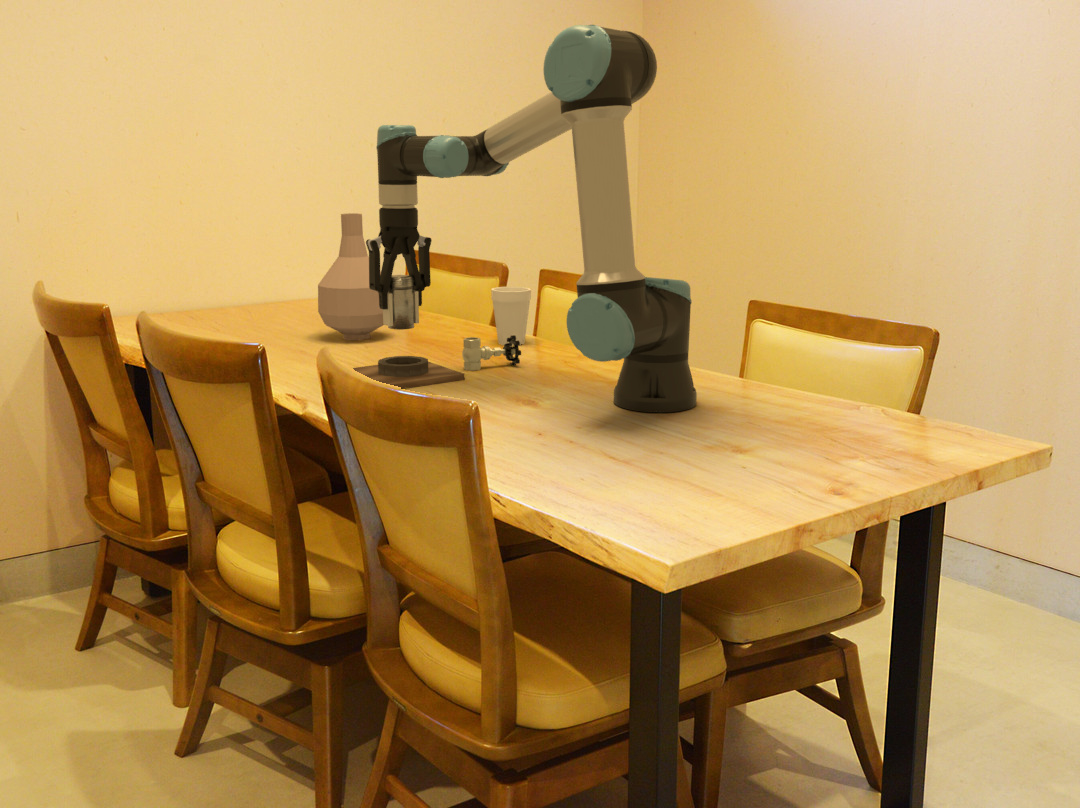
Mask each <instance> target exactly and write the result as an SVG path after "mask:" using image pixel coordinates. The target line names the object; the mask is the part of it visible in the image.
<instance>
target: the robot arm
mask: <svg viewBox="0 0 1080 808" xmlns="http://www.w3.org/2000/svg"><path fill="white" fill-rule="evenodd" d="M657 63H658V62H657V57H656V54H655V51H654V49H653V48H652V46H651V44H650V43H649V42H648V41H647V40H646V39H645V38H644V37H642V36H641V35H640V34H637V33H635V32H632V31H628V30H620V29H615V28H609V27H604V26H600V25H596V24H588V25H587V24H586V25H585V24H584V25H583V24H579V25H576V24H575V25H572V26H569V27H567V28H565V29H563V30H562V31H560V32H559V33H558V34H557V35H556V36H555V37H554V39H553V41H552V42H551V44H550V45H549V46H548V48H547V50H546V54H545V57H544V60H543V77H544V82H545V85H546V87H547V89H548V90H549V91H550V92H549V93H547V94H545V95H544V96H541V97H540V98H538V99H537V100H535V101H533V102H531V103H530V104H528V105H527V106H525V107H523V108H521V109H520V110H518V111H516V112H514V113H512V114H510V115H509V116H507V117H505V118H504V119H502V120H501V121H498V122H497V123H494V124H493V125H491V126H490V127H488V128H487V129H485V130H483V131H481V132H479V133H477V134H475V135H472V136H471V135H462V136H461V135H459V136H458V135H456V136H455V135H443V134H441V135H439V134H438V135H417V128H416V127H415V126H414V125H412V124H411V125H409V124H408V125H407V124H406V125H404V124H393V125H391V124H383V125H382V124H381V125H380V126H379V127H378V129H377V136H376V154H377V176H378V177H377V178H378V182H377V183H378V204H379V205H381V207H380V208H379V209H378V215H379V216H378V218H379V219H378V221H379V227H380V228H379V229H380V230H379V232H378V236H377V237H375V238H373V239H367V240H366V241H365V246H366V249H367V250H368V257H369V288H370V289H371V290H375V291H377V292H378V293H379V307H380V309H383V324H384V325H383V326H387V327H388V326H393V302H392V293H388V291H389V287H390V282H391V277H392V275H393V273H394V267H395V264H396V263H395V262H396V260H397V259H398V256H399V255H402V257H403V259H404V262H405V267H406V269H407V273H408V274H407V275H410V276H412V277H413V285H414V288H413V292H414V325H415V324H416V325H417V324H419V323H420V310H419V307H422V306H423V291H425V289H426V287H430V286H431V283H432V282H431V262H430V261H431V260H430V259H431V258H430V256H431V255H430V249H431V244H432V238H431V237H428V236H423V235H420V232H419V231H418V225H419V214H418V213H419V211H418V209H417V207H416V206H417V205H418V204H419V203H418V202H419V200H418V199H419V198H418V177H427V178H428V177H429V178H430V177H431V178H438V179H445V178H446V179H451V178H456V177H477V176H478V177H491V176H495V175H496V176H497V175H500V174H502V173H503V172H504V171H505V170H506V168H507V167H508V165H510V162H513V161H514V160H516V159H517V158H519V157H521V156H524V155H525V154H527V153H529V152H531V151H533V150H535V149H537V148H538V147H540V146H542V145H545V143H548V142H550V141H551V140H553V139H556V138H557V137H559V136H561V135H563V134H564V133H567V132H568V131H570V130H571V134H572V137H571V138H572V146H573V157H574V171H575V179H576V191H577V203H578V213H579V214H578V215H579V223H580V235H581V246H582V258H583V259H582V260H583V269H584V271H583V273H582V275H581V276H580V277H579V279H578V280H577V281H576V283H575V284H576V294H577V298H575V299H574V301H572V303H571V307H570V308H569V309H568V310H567V314H566V329H567V333H568V336H569V339H570V341H571V343H572V344H573V346H574V347H575V348H576V349H577V350H578V351H579V352H580V353H581V355H583V356H584V357H586V358H587V359H590V360H592V361H595V362H604V363H605V362H611V361H615V362H616V361H620V360H623V361H622V362H623V363H622V366H621V369H620V372H619V376H618V379H617V384H616V385H615V387H614V389H613V404H614V405H616V406H617V407H619V408H622V409H627V410H628V411H629V410H630V411H635V412H636V411H637V412H642V413H643V412H645V413H674V412H675V413H676V412H681V411H682V412H683V411H687V410H690V409H693V408H694V407H696V405H697V396H698V395H697V389H696V388H695V386H694V381H693V376H692V372H691V368H690V365H689V364H690V363H689V347H690V328H691V327H690V325H691V324H690V323H691V307H692V306H691V305H692V299H691V286H690V283H688V282H687V281H685V280H681V279H672V278H661V277H658V278H657V277H651V276H650V277H648V276H646V275H644V274H643V273H642V272H641V271H640V270H639V269H637V266H636V259H635V247H634V235H633V223H632V208H631V196H630V185H629V171H628V160H627V147H626V146H627V145H626V135H625V134H626V133H625V124H624V123H625V120H626V117H627V116H628V115H629V114H630V112H632V110H633V106H632V105H633V104H635V103H637V102H638V101H640V100H641V99H642V98H643V97H645V96H646V95H647V94H648V93H649V91H650V90H651V89H652V87H653V86H654V83H655V80H656V77H657V72H658V71H657V70H658V64H657ZM381 245H382V246H383V248H384V250H383V255H382V257H383V262H382V265H381V250H380V249H381ZM416 245H417V246H418V248H417V249H418V250H417V252H418V263H417V260H416V257H417V254H416V250H415V246H416ZM380 271H381V275H380Z"/></svg>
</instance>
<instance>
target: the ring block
mask: <svg viewBox="0 0 1080 808" xmlns="http://www.w3.org/2000/svg"><path fill="white" fill-rule="evenodd" d="M352 368H353V369H354V370H355V371H357V372H359V373H361V374H363V375H365V376H367V377H369V378H371V379H373V380H376V381H379V382H382V383H386V384H390V385H394V386H398V387H401V388H404V389H406V388H405V387H411V388H416V387H423V386H429V385H430V386H431V385H437V384H444V383H449V382H457V381H462V380H463V381H464V380H465V379H466V377H465V376H466V375H465V373H463V372H461V371H457V370H454V369H452V368H449V367H446V366H442V365H440V364H437V363H434V362H431V361H429V359H428V358H427V357H424V356H423V357H422V356H415V355H397V356H387V357H383V358H381V359H378V360H377V364H371V365H366V366H359V367H352Z"/></svg>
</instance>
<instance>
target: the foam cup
mask: <svg viewBox="0 0 1080 808" xmlns="http://www.w3.org/2000/svg"><path fill="white" fill-rule="evenodd" d="M490 290H491V300H492V306H493V307H492V308H493V314H494V321H495V327H496V328H495V329H496V334H497V344H499V345H500V344H501V346H504V345H505V344H507V343H509V342H507V338H510V336H512V335H515V336H516V341H519V342H520V345H519V346H522V345H521V344H523V345H525V343H526V337H527V336H526V335H527V326H528V318H529V310H530V303H531V302H530V301H531V299H532V289H531V288H529V287H526V286H524V287H523V286H498V287H492V288H491V289H490ZM513 345H514V344H512V346H513Z"/></svg>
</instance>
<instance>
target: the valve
mask: <svg viewBox="0 0 1080 808" xmlns="http://www.w3.org/2000/svg"><path fill="white" fill-rule="evenodd" d="M507 342H509V343H507V344H505V345H503V347H502V349H501V347H499V346H498V347H493V348H491V347H490V346H489V345H483V346H482V347H481V338H479V337H473V336H470V337H469V336H468V337H465V338H463V349H462V351H461V352H462V353H461V355H462V359H463V361H464V362H463V370H464V371H470V372H471V371H472V372H473V371H480V370H481V369H482V366H481V364H482V363H481V360H482V359H483V360H484V361H489V360H490V359H491V357H492V356H493V357H500V356H501V355H503V356H504V357H505V358H506V360H507V361H509V362H510V366H512V365H513V366H517V364H520V361H521V360H520V358H519V356H522V351H521V350H520V348H519V346H521V345H520V342H519V341H516V336H515V335H512V336H510V338H507ZM512 344H514V346H512Z"/></svg>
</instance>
